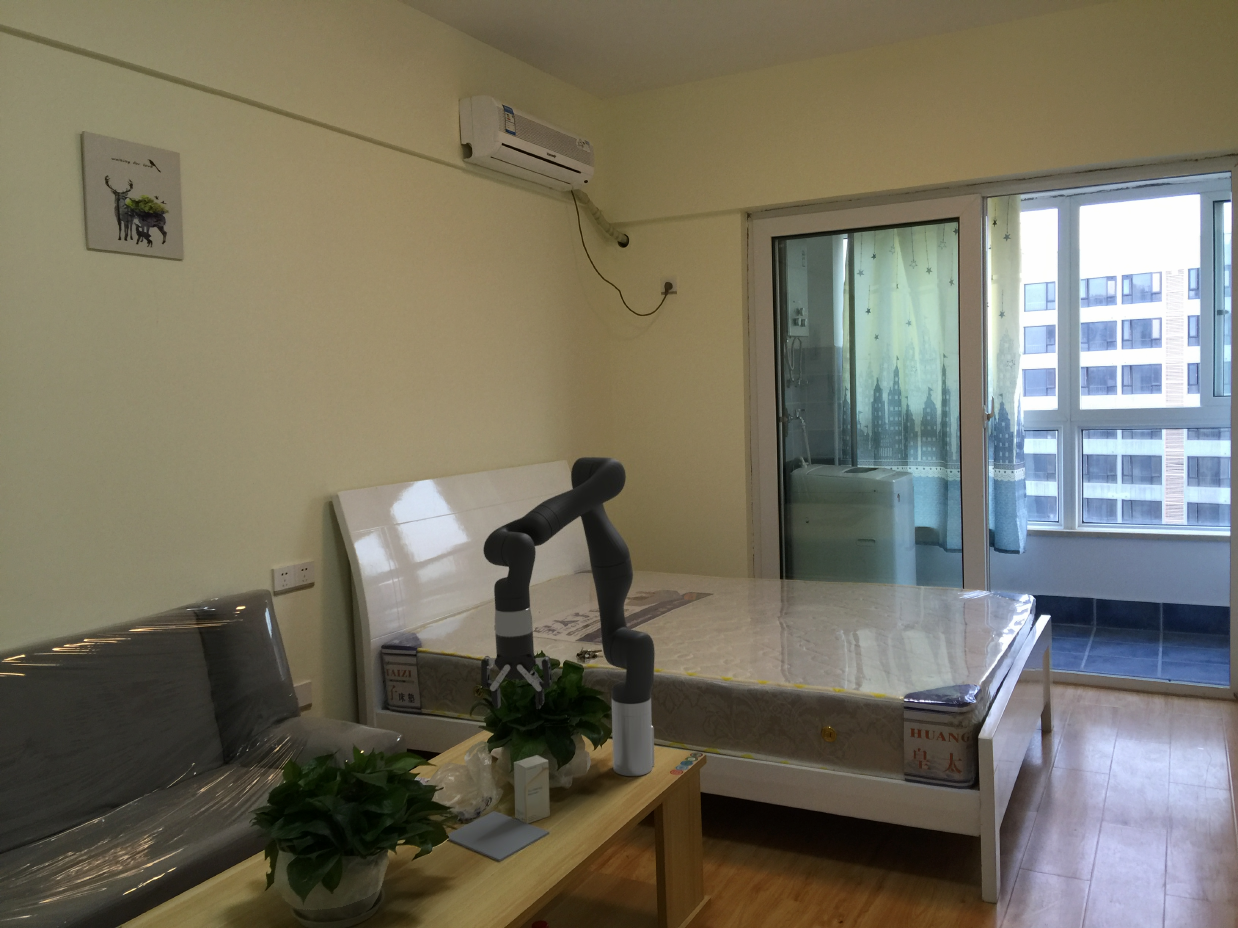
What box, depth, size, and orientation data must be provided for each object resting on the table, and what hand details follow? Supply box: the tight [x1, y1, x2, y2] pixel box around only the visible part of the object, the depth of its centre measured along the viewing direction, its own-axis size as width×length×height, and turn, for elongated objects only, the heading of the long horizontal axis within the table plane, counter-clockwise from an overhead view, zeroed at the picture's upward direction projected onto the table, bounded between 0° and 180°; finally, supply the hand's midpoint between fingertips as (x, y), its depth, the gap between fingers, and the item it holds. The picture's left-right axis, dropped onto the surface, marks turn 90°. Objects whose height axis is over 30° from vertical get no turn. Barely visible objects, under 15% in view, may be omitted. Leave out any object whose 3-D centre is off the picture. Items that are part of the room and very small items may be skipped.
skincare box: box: [513, 754, 551, 824], centre depth 202 cm, size 6×4×12 cm
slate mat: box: [447, 810, 550, 862], centre depth 195 cm, size 14×16×1 cm
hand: (518, 707), depth 195 cm, fingers open, 8 cm apart
